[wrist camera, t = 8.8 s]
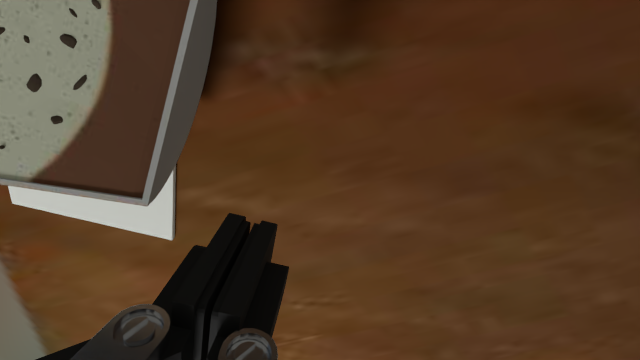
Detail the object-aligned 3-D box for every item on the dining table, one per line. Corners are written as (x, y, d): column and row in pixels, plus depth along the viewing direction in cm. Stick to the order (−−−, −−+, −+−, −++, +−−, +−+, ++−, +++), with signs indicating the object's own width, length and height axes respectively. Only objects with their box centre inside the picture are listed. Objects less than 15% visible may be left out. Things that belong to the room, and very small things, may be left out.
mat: (177, 54, 16) (174, 54, 16) (174, 237, 21) (172, 240, 21) (-29, 5, 16) (-36, 5, 16) (16, 201, 21) (12, 203, 21)
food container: (239, -35, 17) (8, -130, 15) (224, -108, 11) (-168, -287, 9) (178, 198, 19) (-32, 144, 17) (138, 242, 13) (-196, 168, 11)
